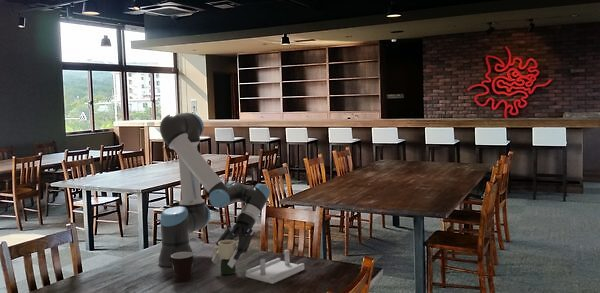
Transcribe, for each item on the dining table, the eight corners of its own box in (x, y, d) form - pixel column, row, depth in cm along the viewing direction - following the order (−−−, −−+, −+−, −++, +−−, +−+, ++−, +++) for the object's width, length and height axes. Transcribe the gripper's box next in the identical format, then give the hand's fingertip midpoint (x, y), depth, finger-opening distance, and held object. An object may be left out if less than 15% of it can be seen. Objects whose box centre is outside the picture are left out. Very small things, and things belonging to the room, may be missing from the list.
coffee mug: (189, 284, 204) (188, 258, 203) (168, 283, 206) (167, 257, 205) (200, 274, 215) (199, 250, 214) (180, 273, 217) (179, 249, 216)
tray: (245, 276, 210) (245, 258, 210) (278, 263, 226) (277, 246, 225) (272, 283, 202) (271, 264, 201) (304, 269, 218) (303, 251, 217)
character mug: (242, 270, 219) (241, 239, 218) (240, 275, 212) (239, 244, 210) (216, 270, 219) (214, 240, 218) (213, 276, 212) (211, 244, 210)
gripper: (271, 225, 219) (245, 273, 208) (234, 219, 232) (208, 264, 221) (262, 215, 214) (235, 264, 203) (225, 209, 227) (198, 255, 216)
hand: (221, 264), depth 212 cm, fingers closed on character mug, 8 cm apart
